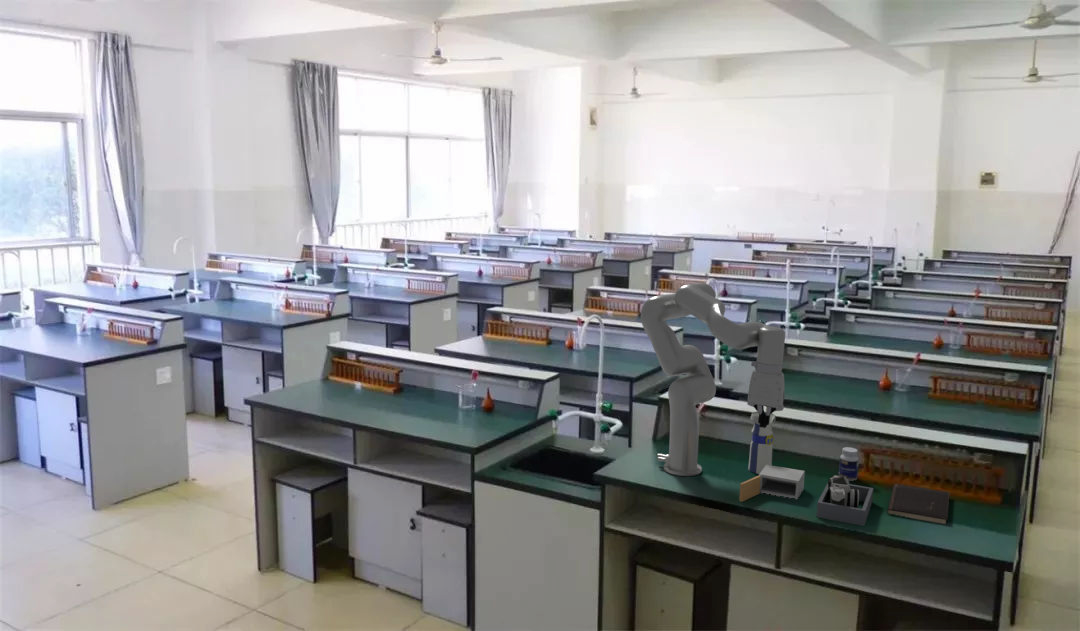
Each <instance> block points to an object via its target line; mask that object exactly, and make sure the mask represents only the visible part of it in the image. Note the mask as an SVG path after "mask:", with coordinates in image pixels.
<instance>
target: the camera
mask: <svg viewBox="0 0 1080 631" xmlns="http://www.w3.org/2000/svg"><path fill="white" fill-rule="evenodd" d="M827 480H828V482H827V483H828V488H830V489H829V501H828V503H831V504H837V505H842V506H848V507H853V508H859V505H860V501H859V490H857V489H850V485H849V484H850V481H848V480H847V479H846V478H845V477H839V475H833V476H832V477H830V478H828V479H827Z"/></svg>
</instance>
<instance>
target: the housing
mask: <svg viewBox="0 0 1080 631" xmlns="http://www.w3.org/2000/svg"><path fill="white" fill-rule="evenodd" d="M805 473H806V471H805V470H801V469H795V468H789V467H783V466H778V465H777V466H776V465H773V464H772V465H766V466H765V467H764V468H763V470H762V471H761V472H760V474H758V476H759V475H762V482H761V493H760V494H763V493H766V494H765V495H769V494H771V495H770V496H775V495H776V497H780V496H784V497H783V498H786V497H789V498H788V499H791V498H795V499H794V500H797V499H799V498H800V496H801V494H802V493H803V491H804V489H805V488H804V487H805ZM801 492H802V493H801ZM798 497H799V498H798Z"/></svg>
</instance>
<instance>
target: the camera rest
mask: <svg viewBox="0 0 1080 631" xmlns="http://www.w3.org/2000/svg"><path fill="white" fill-rule="evenodd" d="M849 485H850V489H857V490H859V502H861V501H862V502H861V503H863V505H862V508H859V507H858V508H853V507H848V506H842V505H837V504H831V503H829V501H828V500H829V489H830V488H828V482H827V484H826V485H825V487H824V489H823V491H822V492H821V495H820V497H819V499H818V501H817V506H816V508H817V509H816V518H821V519H826V520H831V521H834V522H842V523H847V524H851V525H856V526H862V527H864V526H865V525H866V522H867V519H868V517H869V514H870V511H871V508H872V504H873V501H874V500H873V499H874V488H873V487H868V486H862V485H857V484H851V483H849ZM870 507H871V508H870Z"/></svg>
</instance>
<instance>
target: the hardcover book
mask: <svg viewBox="0 0 1080 631" xmlns="http://www.w3.org/2000/svg"><path fill="white" fill-rule="evenodd" d="M950 494H951V493H950V492H949V491H943V490H937V489H929V488H924V487H919V486H912V485H905V484H899V483H895V484H893V487H892V491H891V495H890V499H889V503H888V506H887V510H886V514H887V513H890V514H889V515H891V514H896V515H895V516H897V515H901V516H900V517H902V516H905V517H904V518H908V517H909V518H910V519H915V520H919V521H927V522H931V523H937V524H943V525H946V523H947V521H948V518H949V504H950Z"/></svg>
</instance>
